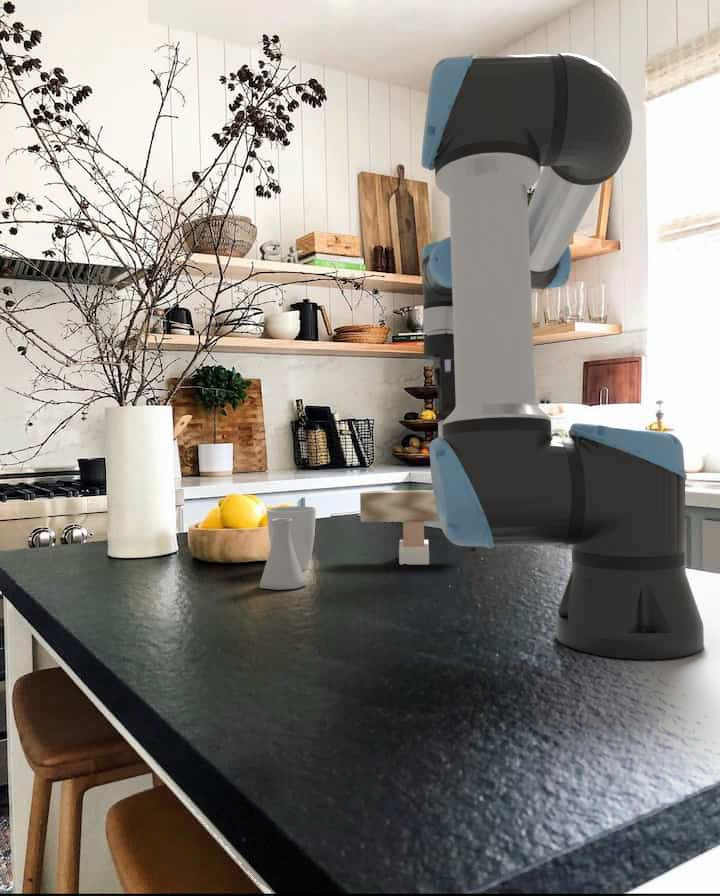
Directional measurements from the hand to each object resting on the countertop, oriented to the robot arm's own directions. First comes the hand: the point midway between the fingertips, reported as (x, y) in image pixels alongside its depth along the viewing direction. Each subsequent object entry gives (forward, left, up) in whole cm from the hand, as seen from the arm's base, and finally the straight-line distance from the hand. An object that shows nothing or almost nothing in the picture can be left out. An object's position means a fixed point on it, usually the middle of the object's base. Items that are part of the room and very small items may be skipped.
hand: (447, 458), depth 140 cm
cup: (-23, +15, -18) cm, 32 cm away
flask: (-33, +5, -18) cm, 38 cm away
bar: (-4, +5, -11) cm, 12 cm away
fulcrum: (-4, +5, -18) cm, 19 cm away
